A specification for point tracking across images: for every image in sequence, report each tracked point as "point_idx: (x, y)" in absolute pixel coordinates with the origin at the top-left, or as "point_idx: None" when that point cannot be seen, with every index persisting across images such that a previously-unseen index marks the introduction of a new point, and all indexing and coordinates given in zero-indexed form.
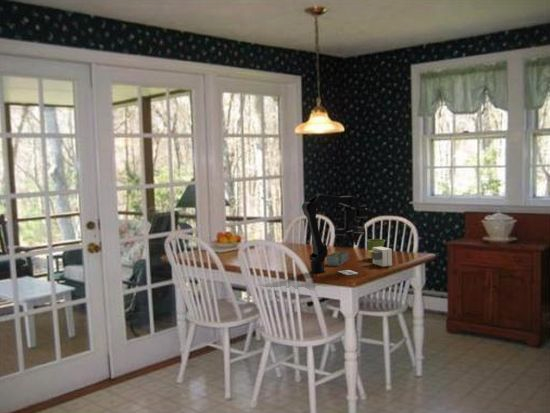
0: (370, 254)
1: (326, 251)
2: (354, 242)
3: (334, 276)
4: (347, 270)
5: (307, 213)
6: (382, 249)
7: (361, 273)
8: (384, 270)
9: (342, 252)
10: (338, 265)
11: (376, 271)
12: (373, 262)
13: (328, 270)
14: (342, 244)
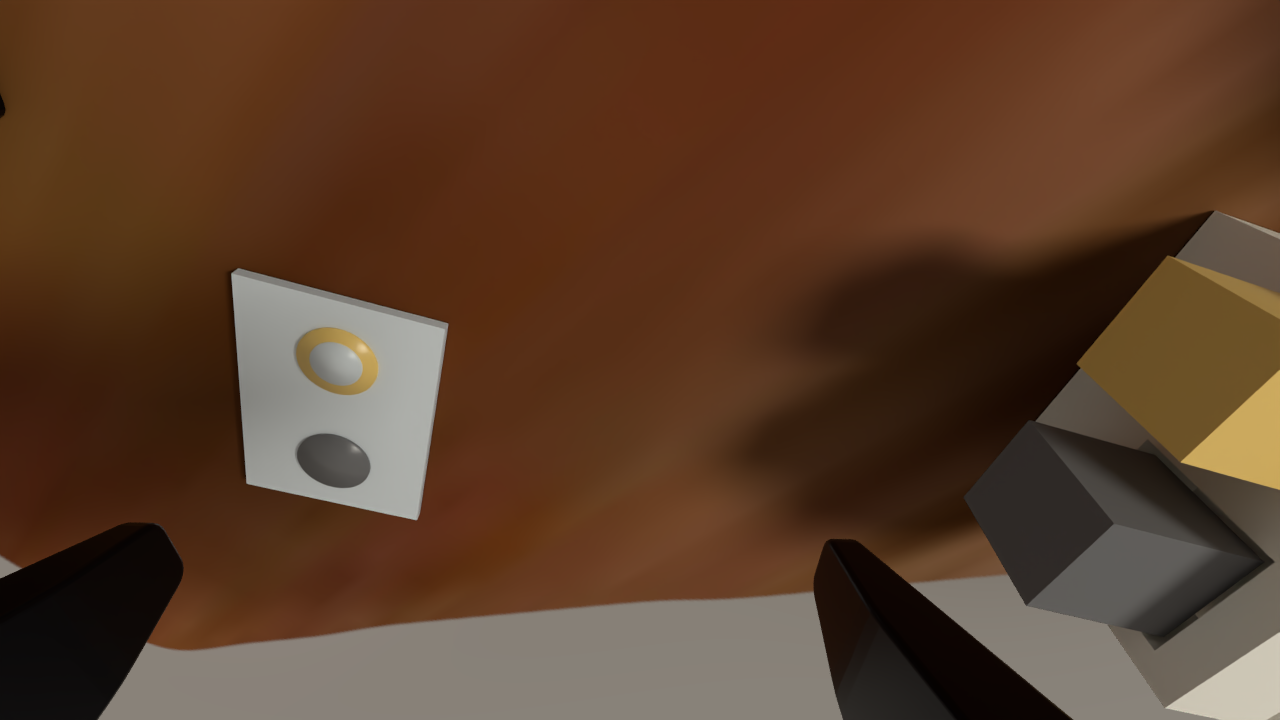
0: (1135, 417)
1: None
2: (868, 612)
3: (64, 424)
4: (397, 338)
5: None
6: (1235, 684)
7: (462, 522)
8: (774, 584)
9: None
10: None
11: (671, 562)
12: (1210, 244)
13: (129, 27)
14: (18, 588)
